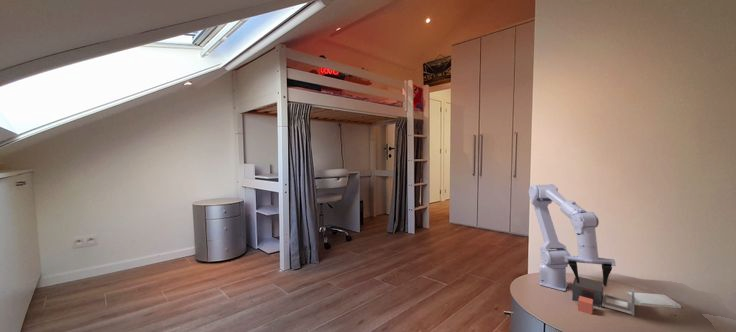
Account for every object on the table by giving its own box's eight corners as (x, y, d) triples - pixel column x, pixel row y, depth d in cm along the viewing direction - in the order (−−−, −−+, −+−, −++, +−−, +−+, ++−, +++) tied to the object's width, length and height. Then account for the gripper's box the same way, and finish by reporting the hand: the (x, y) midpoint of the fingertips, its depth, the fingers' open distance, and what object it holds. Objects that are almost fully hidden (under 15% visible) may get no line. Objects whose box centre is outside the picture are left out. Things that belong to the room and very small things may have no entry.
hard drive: (640, 302, 105) (681, 305, 102) (625, 291, 113) (663, 293, 110) (639, 306, 105) (681, 309, 102) (625, 295, 113) (663, 297, 110)
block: (578, 310, 103) (578, 300, 103) (579, 306, 106) (579, 295, 106) (592, 314, 101) (592, 304, 100) (592, 309, 104) (593, 299, 103)
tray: (601, 307, 104) (602, 291, 104) (603, 296, 111) (603, 282, 111) (634, 316, 98) (634, 299, 98) (633, 304, 105) (633, 288, 105)
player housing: (572, 299, 110) (572, 284, 110) (575, 290, 117) (575, 275, 117) (601, 307, 104) (601, 291, 104) (602, 297, 111) (602, 282, 111)
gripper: (563, 246, 104) (567, 284, 103) (614, 249, 96) (619, 290, 95) (563, 242, 110) (566, 278, 109) (611, 245, 102) (616, 284, 101)
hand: (591, 283), depth 102 cm, fingers open, 7 cm apart
